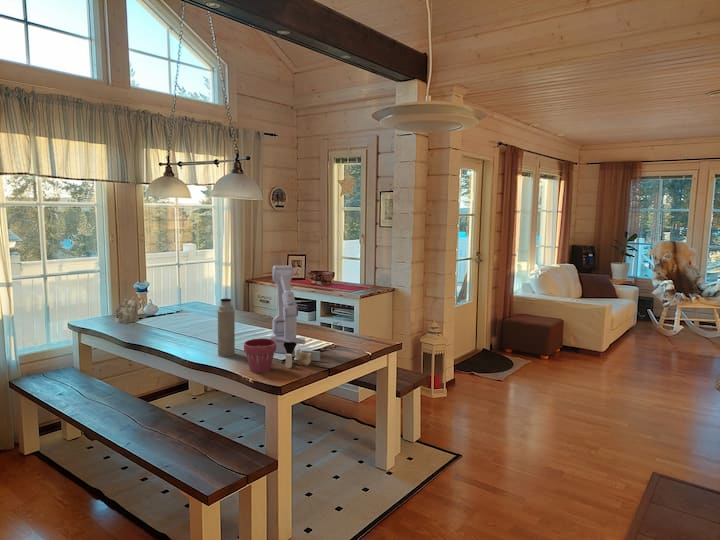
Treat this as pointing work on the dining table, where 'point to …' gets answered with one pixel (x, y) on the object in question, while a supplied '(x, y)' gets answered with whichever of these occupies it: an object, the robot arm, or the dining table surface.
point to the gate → (313, 355)
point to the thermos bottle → (226, 329)
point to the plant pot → (260, 354)
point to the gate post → (297, 353)
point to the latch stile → (288, 360)
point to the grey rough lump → (127, 312)
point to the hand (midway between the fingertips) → (290, 357)
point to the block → (304, 358)
